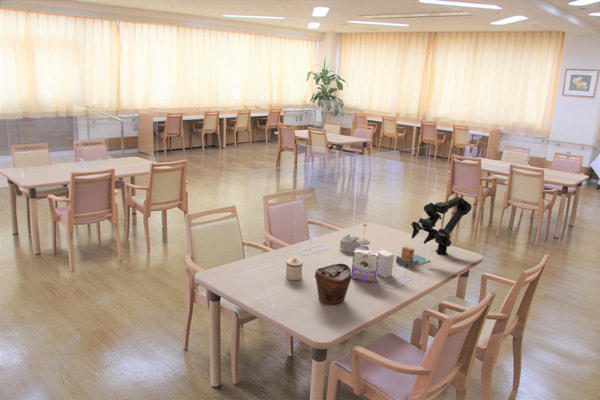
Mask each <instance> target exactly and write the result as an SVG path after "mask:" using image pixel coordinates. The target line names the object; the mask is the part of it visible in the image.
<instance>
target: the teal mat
mask: <svg viewBox="0 0 600 400" xmlns="http://www.w3.org/2000/svg"><path fill="white" fill-rule="evenodd" d="M426 259H427V262H426ZM415 260H419V262H418V265H420V266H421V265H423V264H427V263H431V259H428V258H426V257H424V256H421V255H418V254H414V256H413V261H415Z"/></svg>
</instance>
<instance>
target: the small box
mask: <svg viewBox="0 0 600 400" xmlns="http://www.w3.org/2000/svg"><path fill="white" fill-rule="evenodd" d="M377 252H380V255H379V264H378V274H377V276H380V277H382V278H387V277H390V276H392V275H393V267H394V258H395V254H394V253H392V252H389V251H387V250H385V249H382V250H378V251H377Z"/></svg>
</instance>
